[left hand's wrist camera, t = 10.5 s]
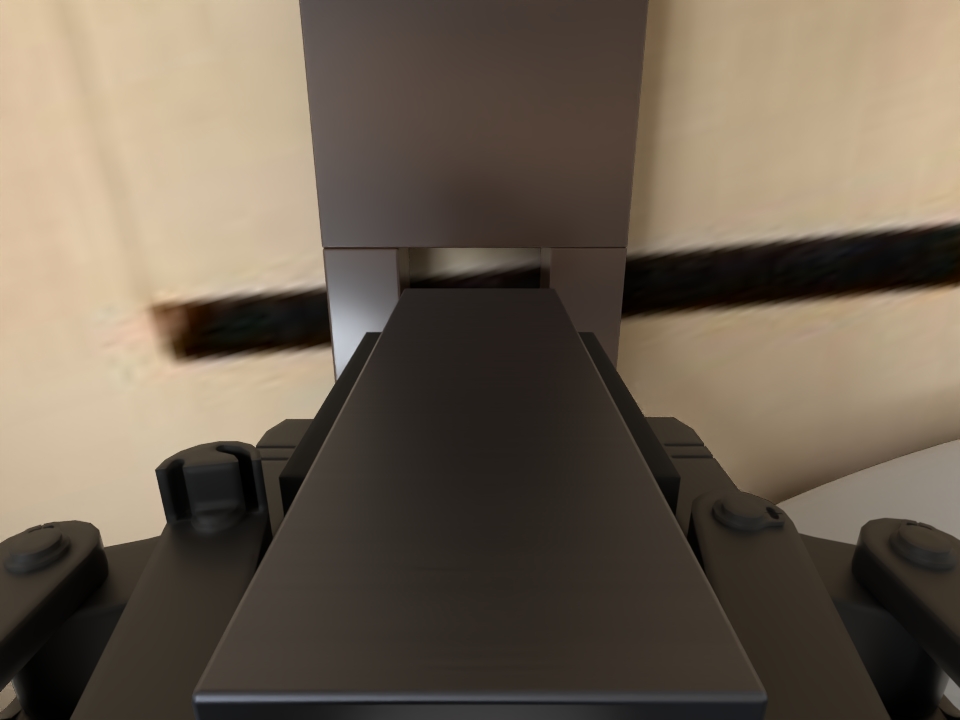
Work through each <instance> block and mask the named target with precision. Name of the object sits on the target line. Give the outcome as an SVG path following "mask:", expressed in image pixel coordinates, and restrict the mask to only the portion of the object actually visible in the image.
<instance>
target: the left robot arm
mask: <svg viewBox="0 0 960 720" xmlns="http://www.w3.org/2000/svg"><path fill="white" fill-rule="evenodd" d="M381 333H382V332H366V334H365V335H364V337H363V339H362V340H361V342H360V344H359V345H358V347H357V349H356V350H355V352H354V353H353V355H352V357H351V358H350V360H349V362H348V363H347V365H346V367H345V368H344V370H343V372H342V373H341V375H340V377H339V378H338V380H337V382H336V383H335V385H334V386H333V388H332V390H331V391H330V393H329V395H328V396H327V398H326V400H325V401H324V403H323V405H322V406H321V408H320V410H319V411H318V413H317V415H316V416H315V418H314V419H286V420H284V421H283V422H281V423H279V424H278V425H276V426H275V427H273V428H271V429H270V430H268V431H267V432H266V433H265V434H264V436H263V437H262V438H261V440H260V441H259V442H258V444H257V445H256V448H255V447H254V446H253V445H251V444H247V443H243V442H238V441H219V442H213V443H207V444H201V445H197V446H195V447H192V448H189V449H186V450H183V451H180V452H178V453H177V454H175V455H173V456H171V457H169V458H168V459H166V460H164V461H163V462H162V463H161V465H160V466H159V467H158V468H157V469H156V470H155V472H156V476H157V480H158V485H159V489H160V494H161V498H162V503H163V507H164V511H165V516H166V520H167V524H166V526H165V528H164V530H163V532H162V534H161V536H157V537H153V538H149V539H145V540H140V541H135V542H130V543H125V544H119V545H114V546H109V547H104V546H103V542H102V539H101V535H100V532H99V530H98V529H97V528H96V527H95V526H94V525H92V524H91V523H87V522H81V521H76V520H74V521H63V522H51V523H46V524H44V525H42V526H41V525H38V526H35V527H32V528H29V529H27V530H25V531H24V532H22V533H19V534H17V535H15V536H12V537H10V538H8V539H6V540H5V541H3V542H2V543H0V692H1V691H2V690H3V689H4V687H5V686H6V685H7V684H8V683H9V682H10V681H11V682H12V685H13V688H14V690H15V693H16V696H17V697H16V698H15V699H14V700H13V701H12V702H11V703H10V704H9V706H8V707H7V708H6V709H4V710H3V711H2V712H1V713H0V720H196V719H195V715H194V711H193V707H192V694H193V691H194V689H195V687H196V685H197V683H198V681H199V679H200V677H201V676H202V674H203V672H204V670H205V668H206V666H207V664H208V662H209V660H210V658H211V656H212V655H213V653H214V651H215V649H216V647H217V645H218V643H219V641H220V639H221V637H222V636H223V634H224V632H225V630H226V628H227V626H228V624H229V622H230V620H231V618H232V616H233V615H234V613H235V611H236V609H237V607H238V605H239V603H240V601H241V599H242V597H243V596H244V594H245V592H246V590H247V588H248V586H249V584H250V582H251V580H252V578H253V577H254V575H255V573H256V571H257V569H258V567H259V565H260V563H261V561H262V559H263V557H264V556H265V554H266V552H267V550H268V548H269V546H270V544H271V542H272V540H273V538H274V537H275V535H276V533H277V531H278V529H279V527H280V525H281V523H282V521H283V519H284V517H285V516H286V514H287V512H288V510H289V508H290V506H291V504H292V502H293V500H294V498H295V497H296V495H297V493H298V491H299V489H300V487H301V485H302V483H303V481H304V479H305V477H306V476H307V474H308V472H309V470H310V468H311V466H312V464H313V462H314V460H315V458H316V457H317V455H318V453H319V451H320V449H321V447H322V445H323V443H324V441H325V439H326V437H327V436H328V434H329V432H330V430H331V428H332V426H333V424H334V422H335V420H336V418H337V417H338V415H339V413H340V411H341V409H342V407H343V405H344V403H345V401H346V399H347V397H348V396H349V394H350V392H351V390H352V388H353V386H354V384H355V382H356V380H357V378H358V377H359V375H360V373H361V371H362V369H363V367H364V365H365V363H366V361H367V359H368V357H369V356H370V354H371V352H372V350H373V348H374V346H375V344H376V342H377V340H378V338H379V337H380V335H381ZM578 333H579V335H580V337H581V339H582V341H583V343H584V345H585V347H586V349H587V351H588V352H589V354H590V356H591V358H592V360H593V362H594V364H595V366H596V368H597V370H598V372H599V373H600V375H601V377H602V379H603V381H604V383H605V385H606V387H607V389H608V391H609V392H610V394H611V396H612V398H613V400H614V402H615V404H616V406H617V408H618V410H619V412H620V413H621V415H622V417H623V419H624V421H625V423H626V425H627V427H628V429H629V431H630V433H631V434H632V436H633V438H634V440H635V442H636V444H637V446H638V448H639V450H640V452H641V454H642V455H643V457H644V459H645V461H646V463H647V465H648V467H649V469H650V471H651V473H652V474H653V476H654V478H655V480H656V482H657V484H658V486H659V488H660V490H661V492H662V494H663V495H664V497H665V499H666V501H667V503H668V505H669V507H670V509H671V511H672V513H673V515H674V516H675V518H676V520H677V522H678V524H679V526H680V528H681V530H682V532H683V534H684V536H685V537H686V539H687V541H688V543H689V545H690V547H691V549H692V551H693V553H694V555H695V557H696V558H697V560H698V562H699V564H700V566H701V568H702V570H703V572H704V574H705V576H706V577H707V579H708V581H709V583H710V585H711V587H712V589H713V591H714V593H715V595H716V597H717V598H718V600H719V602H720V604H721V606H722V608H723V610H724V612H725V614H726V616H727V618H728V619H729V621H730V623H731V625H732V627H733V629H734V631H735V633H736V635H737V637H738V639H739V640H740V642H741V644H742V646H743V648H744V650H745V652H746V654H747V656H748V658H749V659H750V661H751V663H752V665H753V667H754V669H755V671H756V673H757V675H758V677H759V679H760V680H761V682H762V684H763V686H764V688H765V690H766V693H767V698H768V704H767V708H766V712H765V716H764V720H960V710H959V709H958V708H956V707H955V706H954V705H953V704H952V703H951V701H950V700H949V699H948V698H947V697H946V696H945V695H944V691H945V689H946V686H947V684H948V681H949V678H951V679H952V680H953V681H954V682H955V684H956V685H957V686H958V687H959V688H960V540H959V539H957V538H956V537H954V536H952V535H950V534H948V533H945V532H943V531H941V530H938V529H936V528H935V527H933V526H931V525H928V524H925V523H922V522H919V523H917V521H913V520H908V519H895V518H880V519H874V520H869V521H868V522H867V523H866V524H865V525H863V526H862V527H861V530H860V533H859V537H858V541H857V544H856V545H854V544H849V543H844V542H839V541H833V540H828V539H823V538H818V537H813V536H809V535H805V534H801V533H798V531H797V529H796V527H795V525H794V523H793V521H792V520H791V519H790V518H789V516H788V515H787V514H786V513H785V512H784V511H783V510H782V509H780V508H779V507H777V506H776V505H774V504H773V503H771V502H770V501H768V500H765V499H763V498H760V497H758V496H755V495H753V494H749V493H745V492H740V491H739V490H738V488H737V487H736V486H735V484H734V483H733V482H732V480H731V479H730V478H729V476H728V475H727V474H726V472H725V471H724V470H723V468H722V467H721V466H720V464H719V463H718V462H717V460H716V459H715V458H713V455H712V454H711V452H710V451H709V450H708V448H707V447H706V446H704V443H703V442H702V440H701V439H700V438H699V436H698V435H697V434H696V432H695V431H694V430H693V429H692V428H690V427H688V426H687V425H685V424H684V423H682V422H680V421H679V420H677V419H676V418H674V417H644V415H643V414H642V412H641V410H640V409H639V407H638V405H637V404H636V402H635V400H634V399H633V397H632V395H631V394H630V392H629V390H628V389H627V387H626V386H625V384H624V382H623V381H622V379H621V377H620V376H619V374H618V372H617V371H616V369H615V367H614V366H613V364H612V362H611V361H610V359H609V357H608V356H607V354H606V352H605V351H604V349H603V348H602V346H601V344H600V343H599V341H598V339H597V338H596V336H595V334H594V333H593V332H578Z"/></svg>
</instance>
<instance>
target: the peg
mask: <svg viewBox="0 0 960 720" xmlns="http://www.w3.org/2000/svg"><path fill="white" fill-rule="evenodd" d="M767 704H768V698H767V693H766V690H765V688H764V686H763V684H762V682H761V680H760V679H759V677H758V675H757V673H756V671H755V669H754V667H753V665H752V663H751V661H750V659H749V658H748V656H747V654H746V652H745V650H744V648H743V646H742V644H741V642H740V640H739V639H738V637H737V635H736V633H735V631H734V629H733V627H732V625H731V623H730V621H729V619H728V618H727V616H726V614H725V612H724V610H723V608H722V606H721V604H720V602H719V600H718V598H717V597H716V595H715V593H714V591H713V589H712V587H711V585H710V583H709V581H708V579H707V577H706V576H705V574H704V572H703V570H702V568H701V566H700V564H699V562H698V560H697V558H696V557H695V555H694V553H693V551H692V549H691V547H690V545H689V543H688V541H687V539H686V537H685V536H684V534H683V532H682V530H681V528H680V526H679V524H678V522H677V520H676V518H675V516H674V515H673V513H672V511H671V509H670V507H669V505H668V503H667V501H666V499H665V497H664V495H663V494H662V492H661V490H660V488H659V486H658V484H657V482H656V480H655V478H654V476H653V474H652V473H651V471H650V469H649V467H648V465H647V463H646V461H645V459H644V457H643V455H642V454H641V452H640V450H639V448H638V446H637V444H636V442H635V440H634V438H633V436H632V434H631V433H630V431H629V429H628V427H627V425H626V423H625V421H624V419H623V417H622V415H621V413H620V412H619V410H618V408H617V406H616V404H615V402H614V400H613V398H612V396H611V394H610V392H609V391H608V389H607V387H606V385H605V383H604V381H603V379H602V377H601V375H600V373H599V372H598V370H597V368H596V366H595V364H594V362H593V360H592V358H591V356H590V354H589V352H588V351H587V349H586V347H585V345H584V343H583V341H582V339H581V337H580V335H579V333H578V331H577V330H576V328H575V326H574V324H573V322H572V320H571V318H570V316H569V314H568V312H567V310H566V309H565V307H564V305H563V303H562V301H561V299H560V297H559V295H558V293H557V291H556V290H555V289H404V291H403V293H402V295H401V297H400V298H399V300H398V302H397V304H396V306H395V308H394V310H393V312H392V314H391V316H390V317H389V319H388V321H387V323H386V325H385V327H384V329H383V331H382V333H381V335H380V337H379V338H378V340H377V342H376V344H375V346H374V348H373V350H372V352H371V354H370V356H369V357H368V359H367V361H366V363H365V365H364V367H363V369H362V371H361V373H360V375H359V377H358V378H357V380H356V382H355V384H354V386H353V388H352V390H351V392H350V394H349V396H348V397H347V399H346V401H345V403H344V405H343V407H342V409H341V411H340V413H339V415H338V417H337V418H336V420H335V422H334V424H333V426H332V428H331V430H330V432H329V434H328V436H327V437H326V439H325V441H324V443H323V445H322V447H321V449H320V451H319V453H318V455H317V457H316V458H315V460H314V462H313V464H312V466H311V468H310V470H309V472H308V474H307V476H306V477H305V479H304V481H303V483H302V485H301V487H300V489H299V491H298V493H297V495H296V497H295V498H294V500H293V502H292V504H291V506H290V508H289V510H288V512H287V514H286V516H285V517H284V519H283V521H282V523H281V525H280V527H279V529H278V531H277V533H276V535H275V537H274V538H273V540H272V542H271V544H270V546H269V548H268V550H267V552H266V554H265V556H264V557H263V559H262V561H261V563H260V565H259V567H258V569H257V571H256V573H255V575H254V577H253V578H252V580H251V582H250V584H249V586H248V588H247V590H246V592H245V594H244V596H243V597H242V599H241V601H240V603H239V605H238V607H237V609H236V611H235V613H234V615H233V616H232V618H231V620H230V622H229V624H228V626H227V628H226V630H225V632H224V634H223V636H222V637H221V639H220V641H219V643H218V645H217V647H216V649H215V651H214V653H213V655H212V656H211V658H210V660H209V662H208V664H207V666H206V668H205V670H204V672H203V674H202V676H201V677H200V679H199V681H198V683H197V685H196V687H195V689H194V691H193V694H192V707H193V711H194V715H195V719H196V720H764V716H765V712H766V708H767Z"/></svg>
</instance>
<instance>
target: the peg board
mask: <svg viewBox="0 0 960 720" xmlns="http://www.w3.org/2000/svg"><path fill="white" fill-rule="evenodd" d="M299 4H300V15H301V26H302V36H303V47H304V58H305V68H306V79H307V90H308V100H309V111H310V122H311V132H312V143H313V154H314V165H315V175H316V186H317V197H318V207H319V218H320V229H321V239H322V247H323V248H324V249H323V258H324V268H325V279H326V290H327V301H328V311H329V322H330V333H331V343H332V354H333V365H334V376H335V383H336V382H337V380H338V378H339V377H340V375H341V373H342V372H343V370H344V368H345V367H346V365H347V363H348V362H349V360H350V358H351V357H352V355H353V353H354V352H355V350H356V349H357V347H358V345H359V344H360V342H361V340H362V339H363V337H364V335H365V334H366V332H382V331H383V329H384V327H385V325H386V323H387V321H388V319H389V317H390V316H391V314H392V312H393V310H394V308H395V306H396V304H397V302H398V300H399V298H400V297H401V295H402V293H403V291H404V289H410V267H409V248H541V264H540V289H555V290H556V291H557V293H558V295H559V297H560V299H561V301H562V303H563V305H564V307H565V309H566V310H567V312H568V314H569V316H570V318H571V320H572V322H573V324H574V326H575V328H576V330H577V331H578V332H593V333H594V334H595V336H596V338H597V339H598V341H599V343H600V344H601V346H602V348H603V349H604V351H605V352H606V354H607V356H608V357H609V359H610V361H611V362H612V364H613V366H614V367H615V369H616V367H617V356H618V344H619V333H620V321H621V310H622V299H623V287H624V276H625V264H626V253H627V248H626V247H627V240H628V229H629V218H630V206H631V195H632V183H633V172H634V160H635V149H636V138H637V126H638V115H639V103H640V92H641V80H642V69H643V58H644V46H645V35H646V23H647V12H648V0H299Z"/></svg>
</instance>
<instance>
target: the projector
mask: <svg viewBox="0 0 960 720" xmlns="http://www.w3.org/2000/svg"><path fill="white" fill-rule="evenodd" d="M776 506H777V507H779V508H780V509H782V510H783V511H784V512H785V513H786V514H787V515H788V516H789V518H790V519H791V520H792V521H793V523H794V525H795V527H796V529H797V531H798V533H801V534H805V535H809V536H813V537H818V538H823V539H828V540H833V541H839V542H844V543H849V544H854V545H856V544H857V541H858V537H859V533H860V530H861V527H862V526H863V525H865V524H866V523H867V522H868V521H869V520H874V519H880V518H895V519H908V520H913V521H917V523H919V522H922V523H925V524H928V525H931V526H933V527H935V528H936V529H938V530H941V531H943V532H945V533H948V534H950V535H952V536H954V537H956V538H957V539H959V540H960V439H958V440H954V441H950V442H947V443H943V444H940V445H937V446H933V447H930V448H927V449H924V450H921V451H917V452H914V453H911V454H908V455H904V456H901V457H898V458H895V459H892V460H890V461H887V462H884V463H881V464H878V465H875V466H872V467H869V468H867V469H864V470H861V471H858V472H855V473H853V474H850V475H847V476H845V477H842V478H840V479H837V480H834V481H832V482H829V483H826V484H824V485H821V486H819V487H816V488H814V489H811V490H809V491H807V492H804V493H802V494H799V495H797V496H795V497H792V498H790V499H788V500H785V501H783V502H781V503H779V504H776ZM944 695H945V696H946V697H947V698H948V699H949V700H950V701H951V703H952V704H953V705H954V706H955V707H956V708H958V709H959V710H960V688H959V687H958V686H957V685H956V684H955V682H954V681H953V680H952V679H951V678H949V681H948V684H947V686H946V689H945V691H944Z"/></svg>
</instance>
